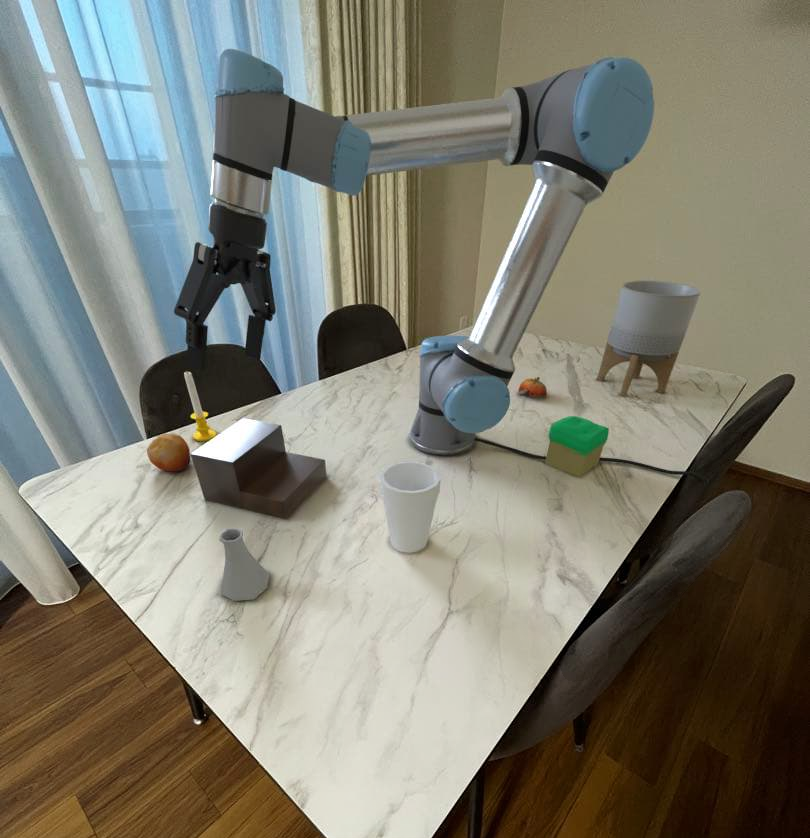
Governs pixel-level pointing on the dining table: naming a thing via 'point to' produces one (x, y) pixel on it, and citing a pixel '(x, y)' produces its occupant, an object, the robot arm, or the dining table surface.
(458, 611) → the dining table surface
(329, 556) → the dining table surface
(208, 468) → the spice riser
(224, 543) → the flask
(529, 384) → the tomato
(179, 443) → the fruit
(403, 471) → the foam cup
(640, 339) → the planter
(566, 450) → the cake
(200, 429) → the candle
